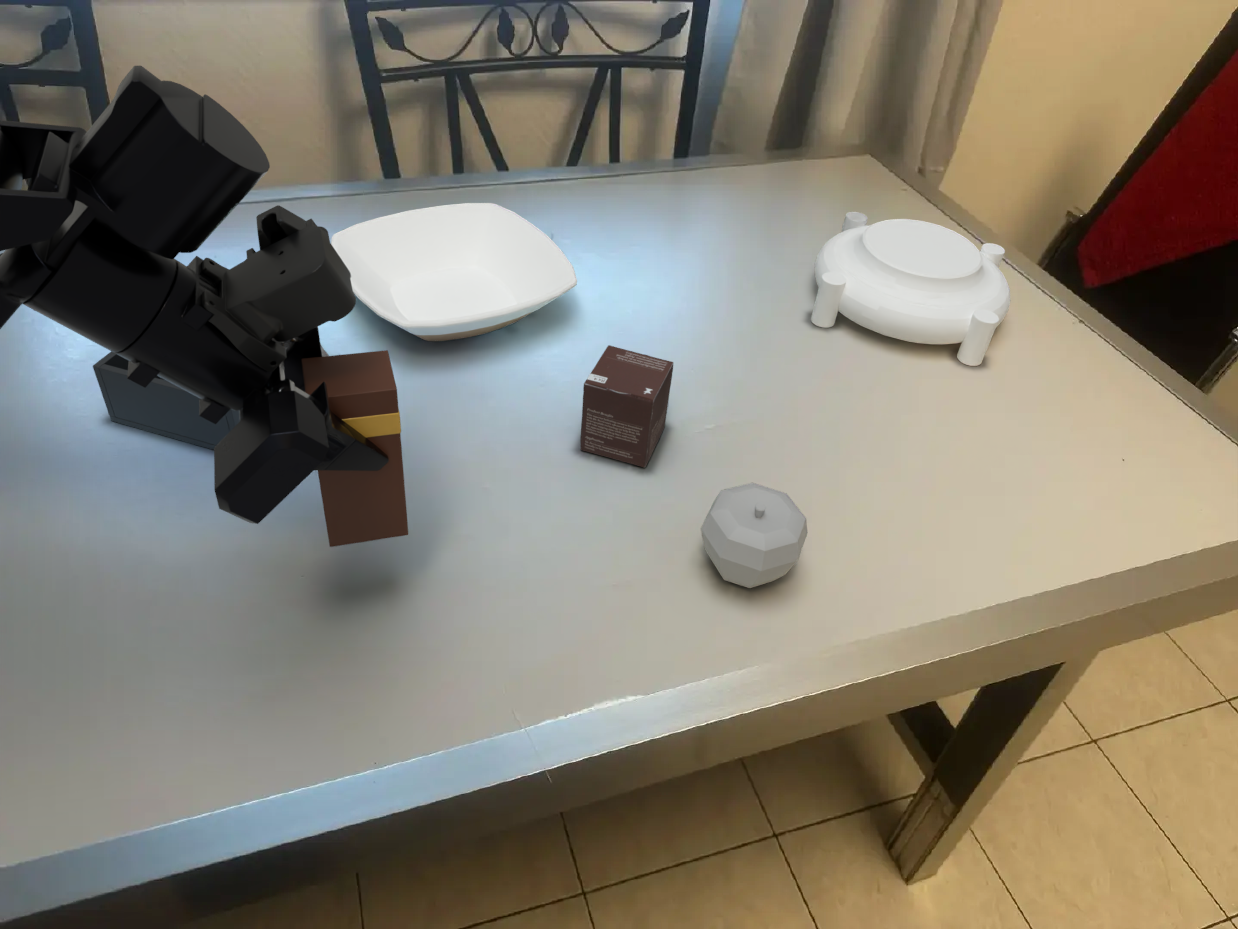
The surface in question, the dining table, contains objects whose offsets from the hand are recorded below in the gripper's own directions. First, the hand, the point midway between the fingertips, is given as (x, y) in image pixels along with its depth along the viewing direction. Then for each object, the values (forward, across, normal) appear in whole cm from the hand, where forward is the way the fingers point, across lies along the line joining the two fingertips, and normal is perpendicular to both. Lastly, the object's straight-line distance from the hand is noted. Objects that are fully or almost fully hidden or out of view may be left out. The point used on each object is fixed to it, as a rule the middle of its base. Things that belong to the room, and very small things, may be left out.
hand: (379, 441), depth 59 cm
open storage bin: (+2, +25, +18) cm, 30 cm away
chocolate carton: (+4, 0, +6) cm, 7 cm away
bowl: (+17, +36, +2) cm, 40 cm away
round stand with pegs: (+51, +28, -32) cm, 66 cm away
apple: (+28, -4, -8) cm, 29 cm away
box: (+25, +12, -5) cm, 28 cm away
